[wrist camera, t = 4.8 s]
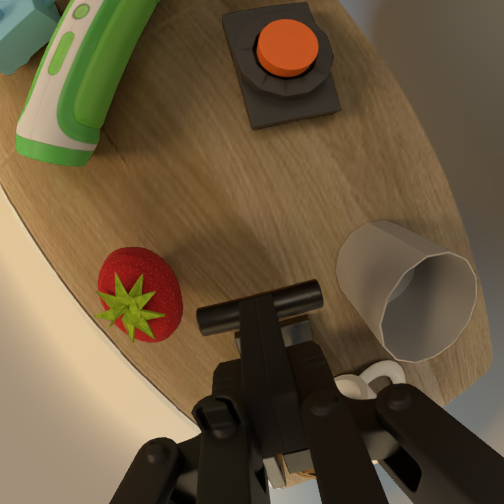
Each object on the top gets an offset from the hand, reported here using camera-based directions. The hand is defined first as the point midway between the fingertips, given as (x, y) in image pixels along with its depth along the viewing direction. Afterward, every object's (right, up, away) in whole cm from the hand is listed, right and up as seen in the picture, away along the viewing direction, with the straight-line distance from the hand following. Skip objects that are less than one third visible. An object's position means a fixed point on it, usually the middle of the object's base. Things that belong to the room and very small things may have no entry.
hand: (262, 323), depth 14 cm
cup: (+11, +2, +14) cm, 18 cm away
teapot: (-21, +25, +5) cm, 33 cm away
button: (+2, +17, +5) cm, 18 cm away
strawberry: (-9, +2, +13) cm, 16 cm away
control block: (+2, +19, +8) cm, 20 cm away
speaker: (-13, +20, +7) cm, 25 cm away
